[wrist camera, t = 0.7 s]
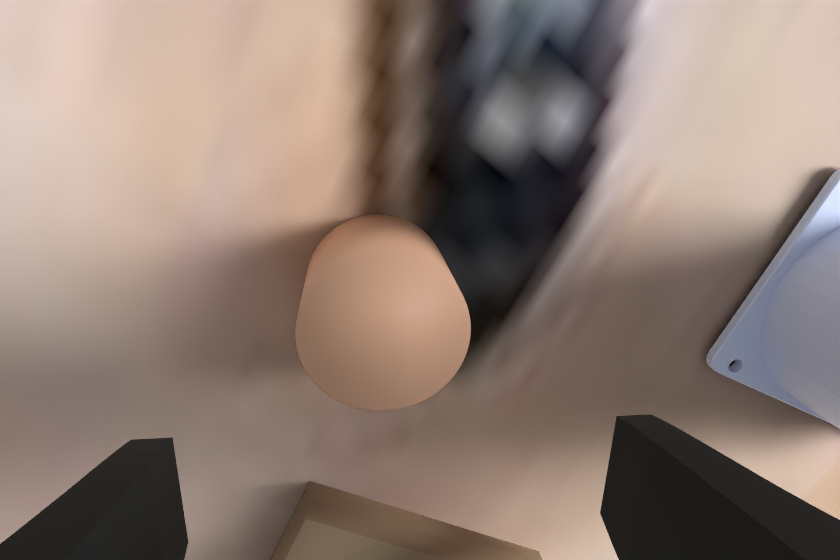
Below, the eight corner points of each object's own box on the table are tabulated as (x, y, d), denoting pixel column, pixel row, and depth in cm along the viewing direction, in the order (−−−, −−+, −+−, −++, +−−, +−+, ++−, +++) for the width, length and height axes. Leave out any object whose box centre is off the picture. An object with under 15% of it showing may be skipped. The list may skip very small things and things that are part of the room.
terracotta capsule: (469, 248, 18) (501, 293, 14) (408, 362, 19) (423, 432, 15) (341, 189, 17) (338, 221, 13) (285, 315, 18) (267, 377, 14)
